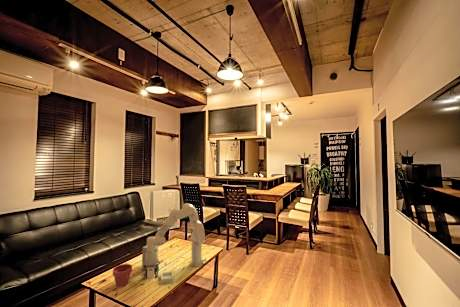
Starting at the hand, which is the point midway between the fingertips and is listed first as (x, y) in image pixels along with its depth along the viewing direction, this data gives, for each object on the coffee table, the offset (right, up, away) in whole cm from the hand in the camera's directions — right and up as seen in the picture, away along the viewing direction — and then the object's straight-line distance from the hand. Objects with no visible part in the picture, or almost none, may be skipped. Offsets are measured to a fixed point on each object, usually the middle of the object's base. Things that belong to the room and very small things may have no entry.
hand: (151, 272), depth 191 cm
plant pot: (-19, -2, -13) cm, 23 cm away
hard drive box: (-7, -3, +16) cm, 18 cm away
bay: (0, -3, 0) cm, 3 cm away
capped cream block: (0, -3, 0) cm, 3 cm away
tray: (+16, -2, -6) cm, 17 cm away
